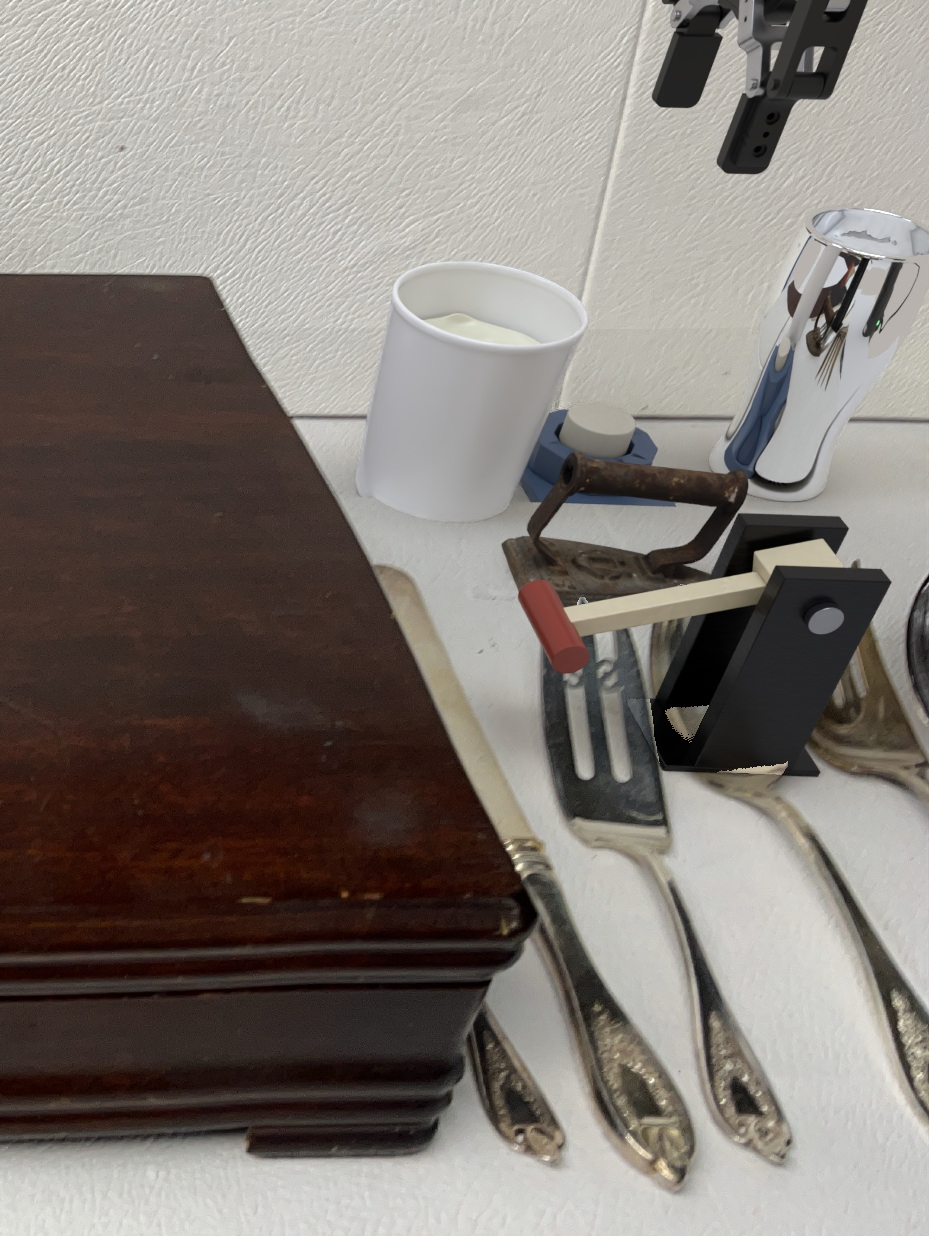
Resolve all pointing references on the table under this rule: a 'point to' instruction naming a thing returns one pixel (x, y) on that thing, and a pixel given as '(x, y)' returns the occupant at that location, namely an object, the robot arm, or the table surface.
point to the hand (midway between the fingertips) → (704, 136)
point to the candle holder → (464, 387)
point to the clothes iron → (611, 568)
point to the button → (597, 430)
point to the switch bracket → (766, 653)
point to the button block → (553, 454)
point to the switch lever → (654, 603)
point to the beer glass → (823, 345)
